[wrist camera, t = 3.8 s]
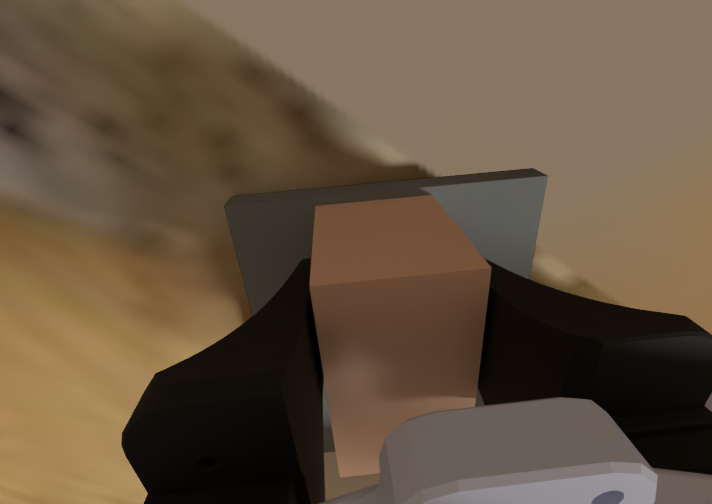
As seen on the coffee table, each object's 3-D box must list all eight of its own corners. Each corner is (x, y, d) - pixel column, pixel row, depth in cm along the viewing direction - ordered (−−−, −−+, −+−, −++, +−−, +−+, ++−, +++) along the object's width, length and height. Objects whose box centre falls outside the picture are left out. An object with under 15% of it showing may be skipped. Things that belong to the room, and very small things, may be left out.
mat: (533, 168, 13) (547, 175, 12) (480, 502, 23) (486, 519, 23) (231, 196, 13) (224, 205, 12) (311, 523, 23) (310, 541, 22)
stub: (431, 195, 12) (491, 267, 8) (427, 349, 16) (468, 462, 11) (315, 205, 12) (309, 286, 8) (335, 359, 15) (340, 477, 11)
